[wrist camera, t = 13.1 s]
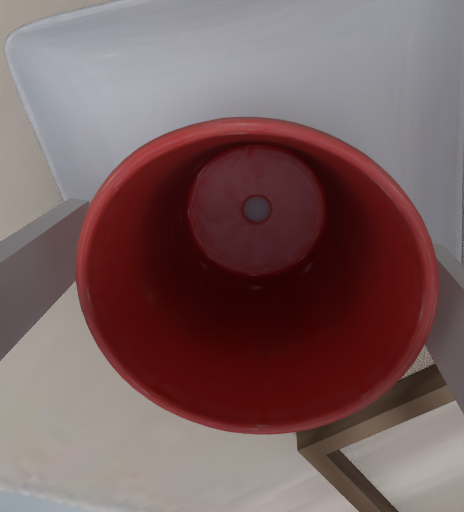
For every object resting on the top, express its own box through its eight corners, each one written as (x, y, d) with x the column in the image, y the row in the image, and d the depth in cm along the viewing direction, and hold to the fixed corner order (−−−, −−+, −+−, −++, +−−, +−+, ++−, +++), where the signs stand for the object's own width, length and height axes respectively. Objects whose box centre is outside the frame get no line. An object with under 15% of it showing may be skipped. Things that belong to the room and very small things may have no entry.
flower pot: (288, 44, 17) (313, 8, 8) (398, 236, 20) (500, 359, 11) (114, 178, 20) (-3, 258, 11) (234, 325, 23) (216, 474, 15)
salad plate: (446, -82, 17) (484, -115, 14) (439, 312, 26) (462, 345, 23) (28, 37, 21) (-14, 31, 18) (146, 346, 29) (132, 378, 26)
